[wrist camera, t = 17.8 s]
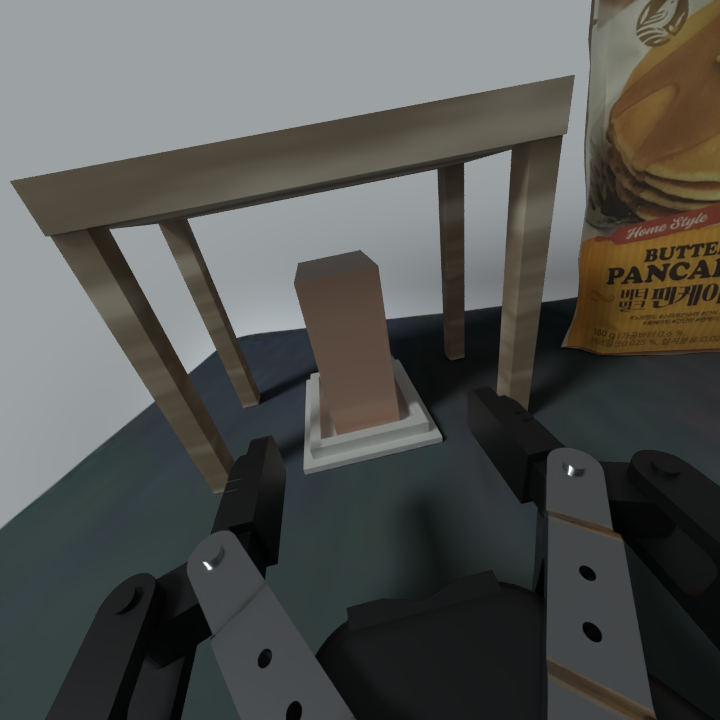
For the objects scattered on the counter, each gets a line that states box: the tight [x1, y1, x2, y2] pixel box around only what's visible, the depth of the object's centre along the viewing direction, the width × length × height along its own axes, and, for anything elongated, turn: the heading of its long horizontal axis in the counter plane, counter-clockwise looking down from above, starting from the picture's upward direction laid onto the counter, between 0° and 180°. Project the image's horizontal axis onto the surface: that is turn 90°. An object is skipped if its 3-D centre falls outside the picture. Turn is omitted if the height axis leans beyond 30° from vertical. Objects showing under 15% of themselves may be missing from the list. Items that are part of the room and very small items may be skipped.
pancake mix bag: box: [561, 0, 720, 356], centre depth 21 cm, size 7×19×28 cm, turn 77°
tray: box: [304, 356, 443, 475], centre depth 26 cm, size 12×10×2 cm
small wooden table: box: [10, 75, 575, 494], centre depth 22 cm, size 12×23×19 cm, turn 98°
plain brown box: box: [294, 250, 400, 435], centre depth 23 cm, size 7×5×12 cm
